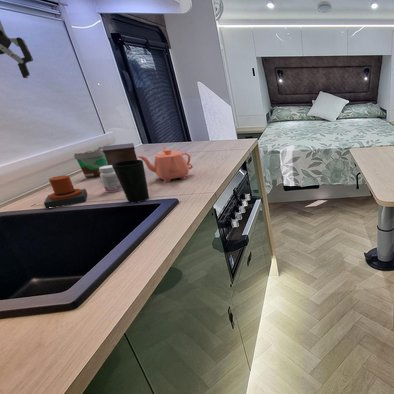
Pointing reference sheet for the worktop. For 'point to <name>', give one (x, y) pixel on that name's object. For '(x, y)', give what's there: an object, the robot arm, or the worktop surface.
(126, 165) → the cup
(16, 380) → the worktop surface
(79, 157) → the food container
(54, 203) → the stand
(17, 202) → the worktop surface
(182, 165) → the teapot
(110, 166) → the pill bottle
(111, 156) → the brown tapered pot
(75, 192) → the hat
